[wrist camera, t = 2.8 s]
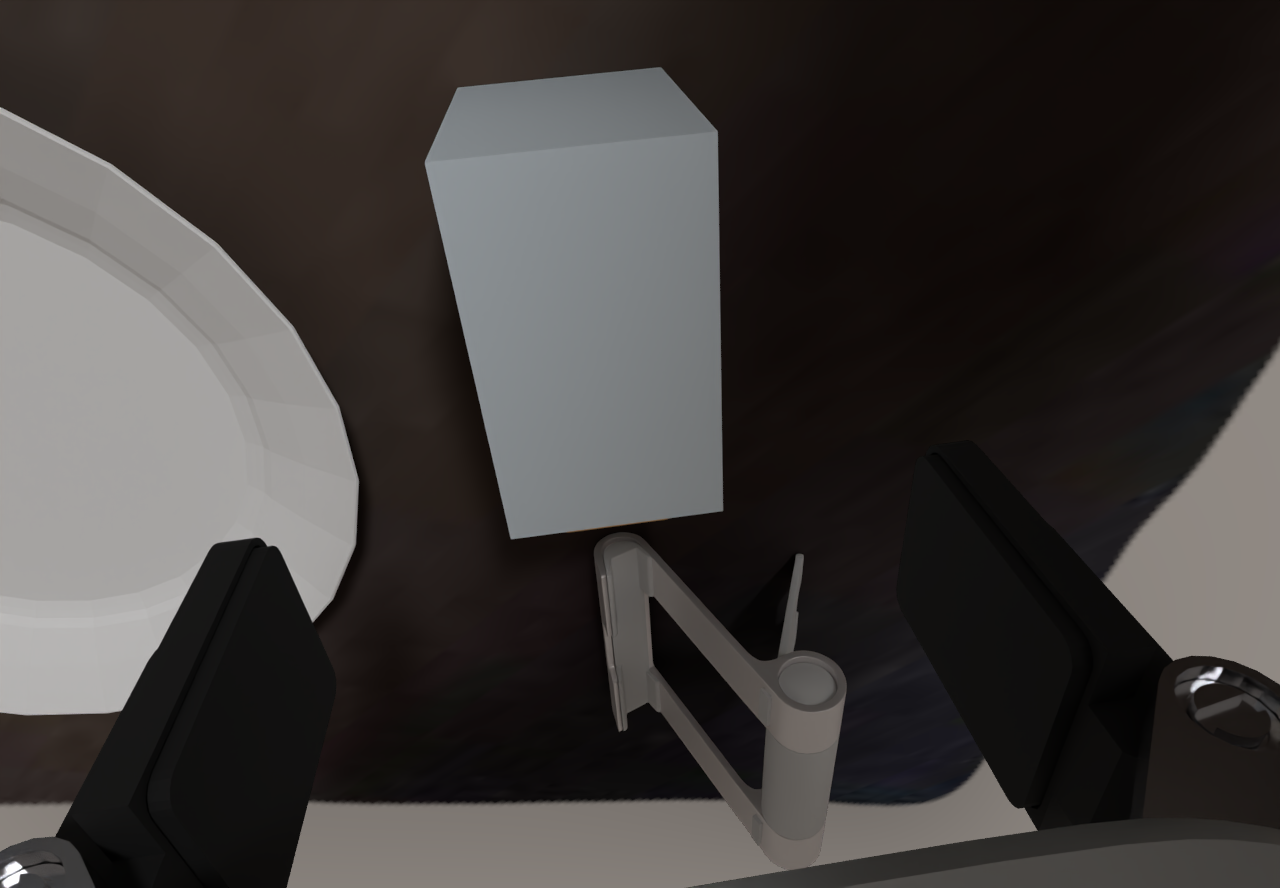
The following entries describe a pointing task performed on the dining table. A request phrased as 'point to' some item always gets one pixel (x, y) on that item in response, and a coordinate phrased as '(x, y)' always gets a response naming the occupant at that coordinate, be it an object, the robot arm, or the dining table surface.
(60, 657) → the plate
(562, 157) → the block
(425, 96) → the dining table surface
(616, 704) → the portable electronic device stand
